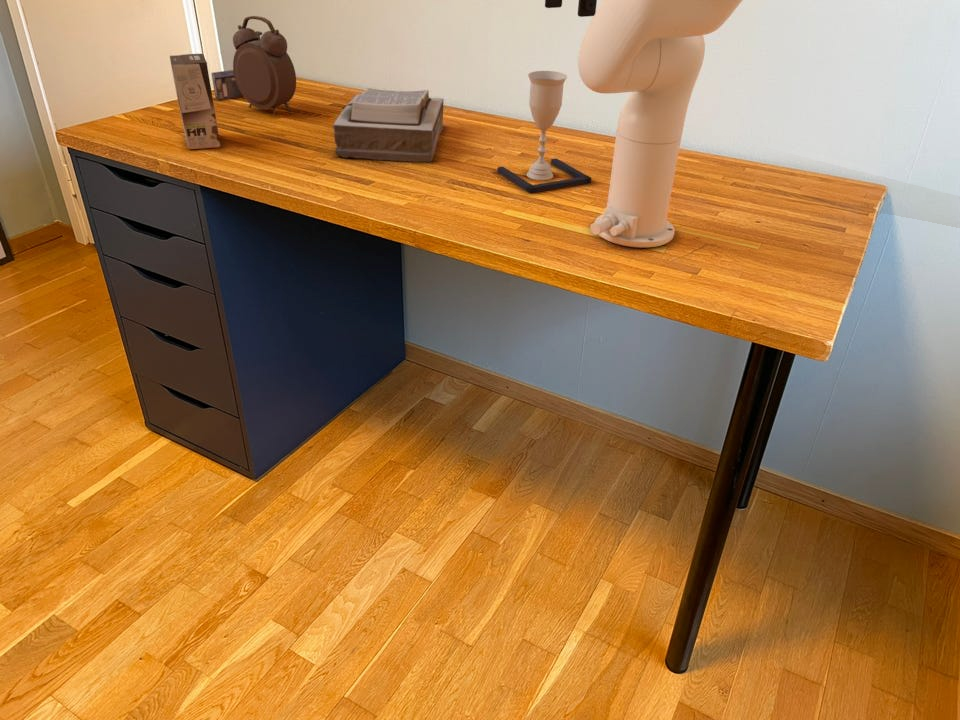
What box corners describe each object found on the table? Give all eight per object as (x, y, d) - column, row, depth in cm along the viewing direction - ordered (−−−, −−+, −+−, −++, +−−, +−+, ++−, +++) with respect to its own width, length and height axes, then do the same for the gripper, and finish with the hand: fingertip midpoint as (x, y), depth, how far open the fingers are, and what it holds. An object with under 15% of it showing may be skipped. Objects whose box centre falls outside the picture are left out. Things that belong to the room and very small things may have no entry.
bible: (313, 155, 144) (308, 104, 139) (363, 118, 166) (360, 73, 160) (426, 168, 140) (426, 115, 134) (463, 128, 162) (463, 82, 156)
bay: (591, 183, 136) (591, 177, 135) (529, 193, 130) (530, 188, 130) (555, 163, 144) (556, 158, 144) (497, 172, 139) (497, 167, 138)
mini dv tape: (218, 100, 176) (213, 74, 172) (215, 98, 177) (211, 72, 173) (250, 95, 180) (246, 69, 177) (247, 94, 181) (243, 68, 178)
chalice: (555, 183, 135) (564, 81, 125) (519, 180, 136) (525, 78, 126) (560, 170, 141) (569, 72, 131) (525, 167, 142) (531, 69, 132)
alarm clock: (304, 112, 169) (294, 18, 158) (281, 119, 164) (270, 22, 153) (259, 102, 175) (247, 10, 164) (236, 108, 170) (221, 14, 159)
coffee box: (221, 147, 147) (207, 62, 138) (187, 150, 145) (170, 64, 136) (217, 134, 154) (203, 52, 145) (185, 136, 152) (168, 54, 143)
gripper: (529, -111, 119) (523, 5, 128) (592, -108, 106) (580, 21, 115) (567, -111, 122) (559, 3, 131) (633, -107, 109) (618, 18, 119)
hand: (569, 11), depth 123 cm, fingers open, 9 cm apart
